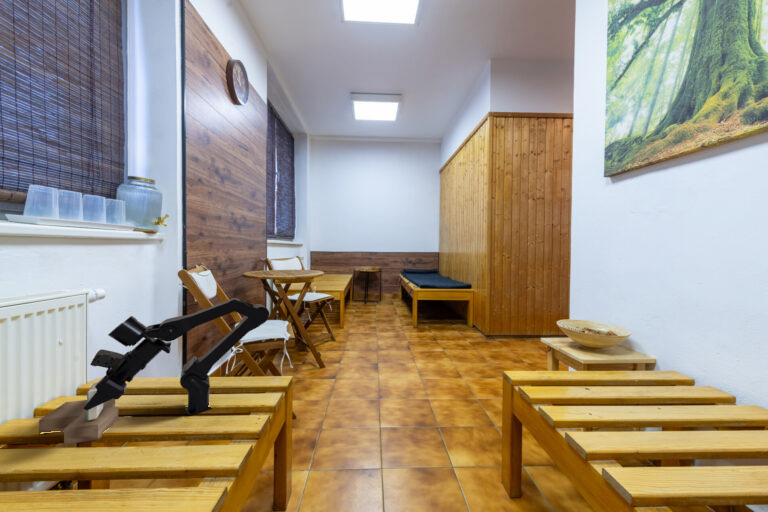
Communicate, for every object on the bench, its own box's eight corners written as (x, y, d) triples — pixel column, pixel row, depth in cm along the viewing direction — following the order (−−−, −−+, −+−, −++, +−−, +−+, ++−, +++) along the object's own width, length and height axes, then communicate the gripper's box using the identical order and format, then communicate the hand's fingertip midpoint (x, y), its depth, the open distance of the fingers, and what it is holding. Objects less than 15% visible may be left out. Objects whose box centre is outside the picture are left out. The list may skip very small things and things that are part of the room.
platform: (130, 408, 94) (130, 395, 94) (98, 439, 79) (98, 424, 79) (66, 415, 90) (66, 401, 90) (17, 450, 74) (17, 434, 74)
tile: (103, 407, 86) (103, 381, 86) (96, 418, 80) (96, 390, 80) (94, 409, 85) (94, 382, 85) (87, 420, 79) (86, 392, 79)
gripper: (122, 331, 92) (71, 374, 87) (106, 348, 77) (43, 403, 71) (154, 352, 97) (108, 395, 91) (145, 373, 81) (89, 426, 75)
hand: (89, 403), depth 82 cm, fingers closed on tile, 6 cm apart
